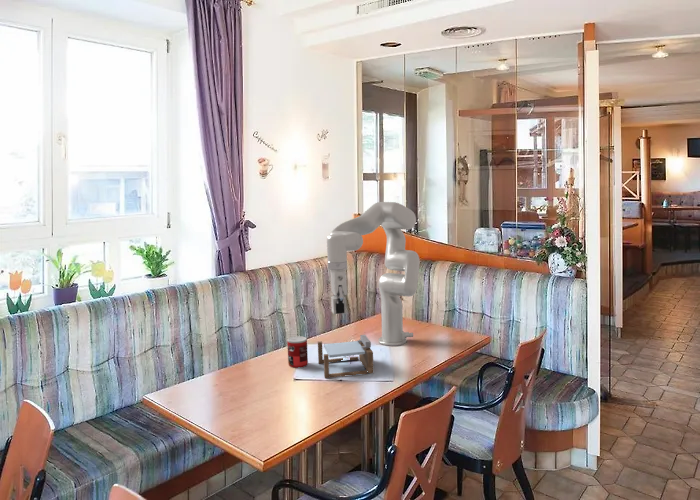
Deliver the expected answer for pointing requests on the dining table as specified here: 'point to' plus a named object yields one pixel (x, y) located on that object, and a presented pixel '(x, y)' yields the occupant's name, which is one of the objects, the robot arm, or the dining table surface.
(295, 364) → the canned food
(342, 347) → the trapdoor
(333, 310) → the light grey block
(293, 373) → the dining table surface
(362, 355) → the frame
